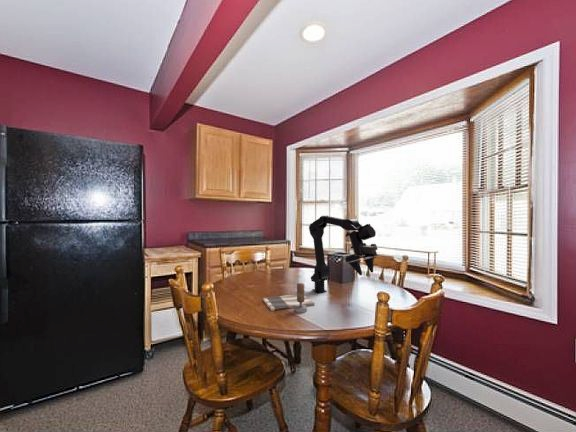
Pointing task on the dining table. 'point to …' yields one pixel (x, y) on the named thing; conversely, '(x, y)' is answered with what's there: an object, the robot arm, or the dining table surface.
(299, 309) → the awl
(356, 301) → the dining table surface
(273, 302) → the cream and grey cloth
